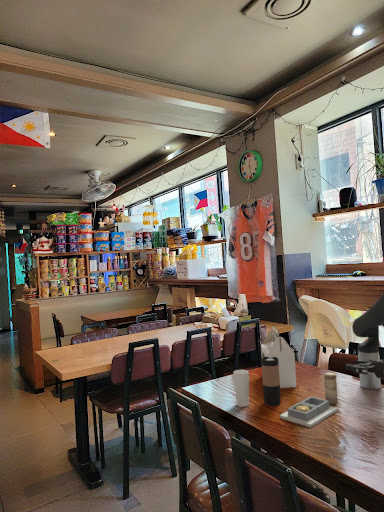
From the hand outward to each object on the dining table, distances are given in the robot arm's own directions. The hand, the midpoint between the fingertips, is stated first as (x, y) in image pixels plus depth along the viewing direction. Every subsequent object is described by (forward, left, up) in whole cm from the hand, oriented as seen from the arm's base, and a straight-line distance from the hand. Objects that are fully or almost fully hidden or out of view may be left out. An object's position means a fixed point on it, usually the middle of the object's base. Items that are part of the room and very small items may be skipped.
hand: (351, 364), depth 164 cm
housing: (+13, -16, -18) cm, 28 cm away
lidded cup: (-4, -9, -18) cm, 21 cm away
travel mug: (+5, -34, -18) cm, 39 cm away
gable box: (-26, -38, -18) cm, 49 cm away
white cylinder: (+11, -46, -18) cm, 50 cm away
